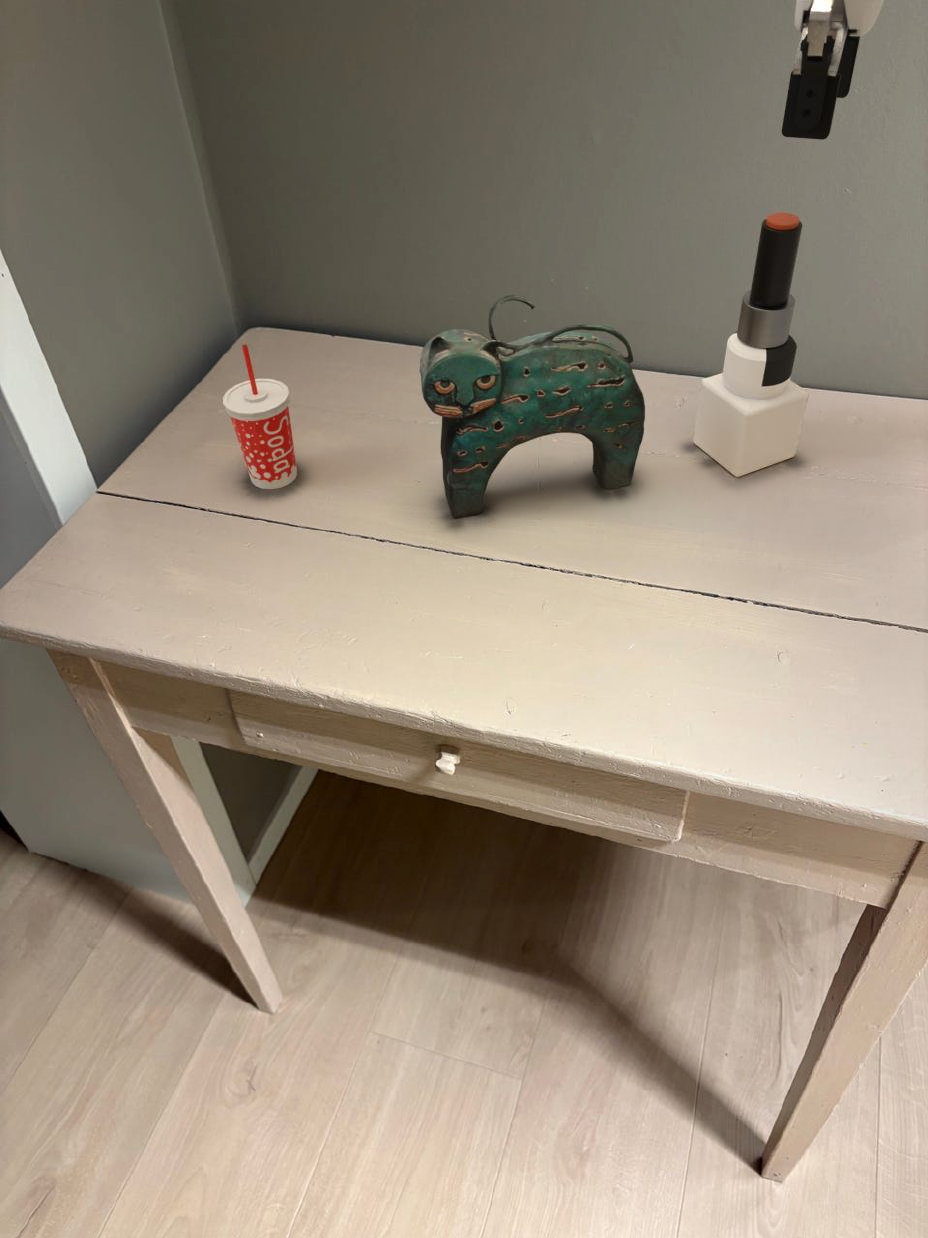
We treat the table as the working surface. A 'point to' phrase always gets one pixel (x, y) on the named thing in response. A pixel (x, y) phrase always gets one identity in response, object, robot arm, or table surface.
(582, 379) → the ceramic cat
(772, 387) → the medicine bottle
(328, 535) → the table surface
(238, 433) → the beverage cup
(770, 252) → the torch
